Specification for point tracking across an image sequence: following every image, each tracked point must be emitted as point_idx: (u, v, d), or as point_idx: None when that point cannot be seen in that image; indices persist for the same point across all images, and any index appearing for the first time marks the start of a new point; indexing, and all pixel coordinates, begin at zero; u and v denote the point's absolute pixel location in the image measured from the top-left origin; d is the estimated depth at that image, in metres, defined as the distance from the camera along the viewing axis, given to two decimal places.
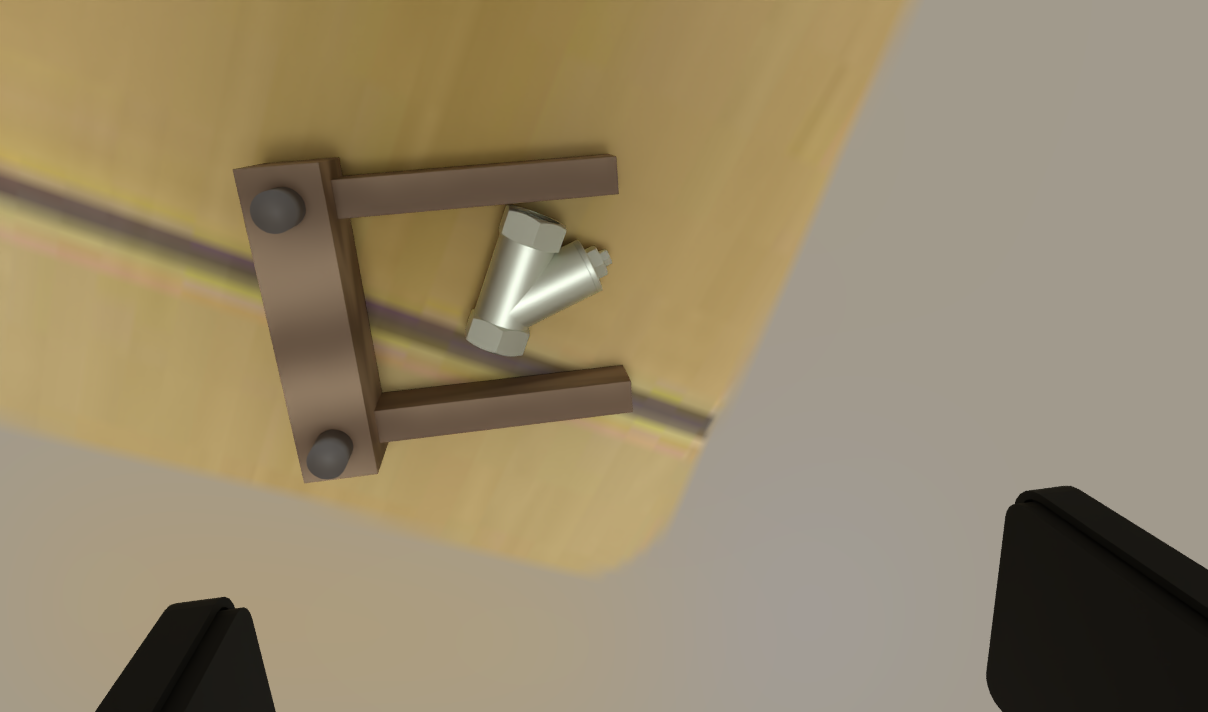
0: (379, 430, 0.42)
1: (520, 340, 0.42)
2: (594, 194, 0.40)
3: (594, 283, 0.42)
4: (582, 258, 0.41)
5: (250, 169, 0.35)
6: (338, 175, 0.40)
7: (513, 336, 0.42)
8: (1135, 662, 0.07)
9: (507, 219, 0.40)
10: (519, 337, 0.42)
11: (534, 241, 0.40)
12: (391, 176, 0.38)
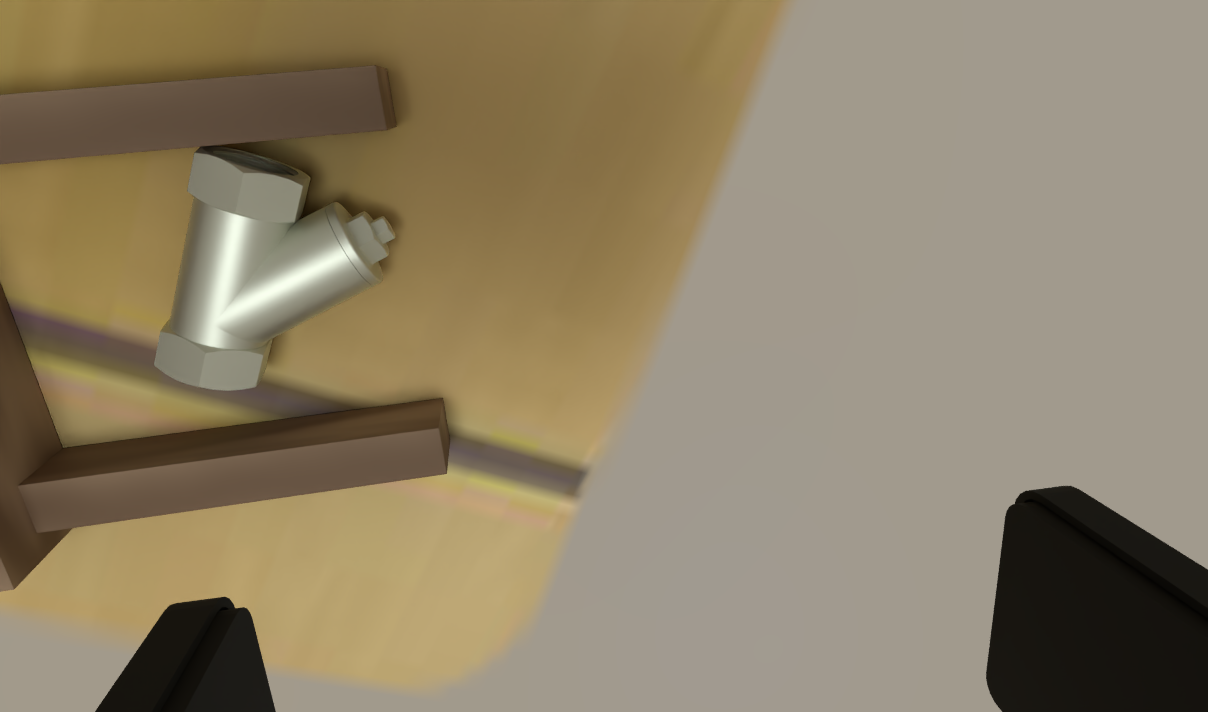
0: (32, 514, 0.27)
1: (246, 364, 0.26)
2: (344, 130, 0.24)
3: (358, 270, 0.26)
4: (333, 230, 0.25)
5: None
6: None
7: (229, 359, 0.26)
8: (1135, 662, 0.07)
9: (194, 167, 0.24)
10: (243, 360, 0.26)
11: (238, 203, 0.24)
12: None
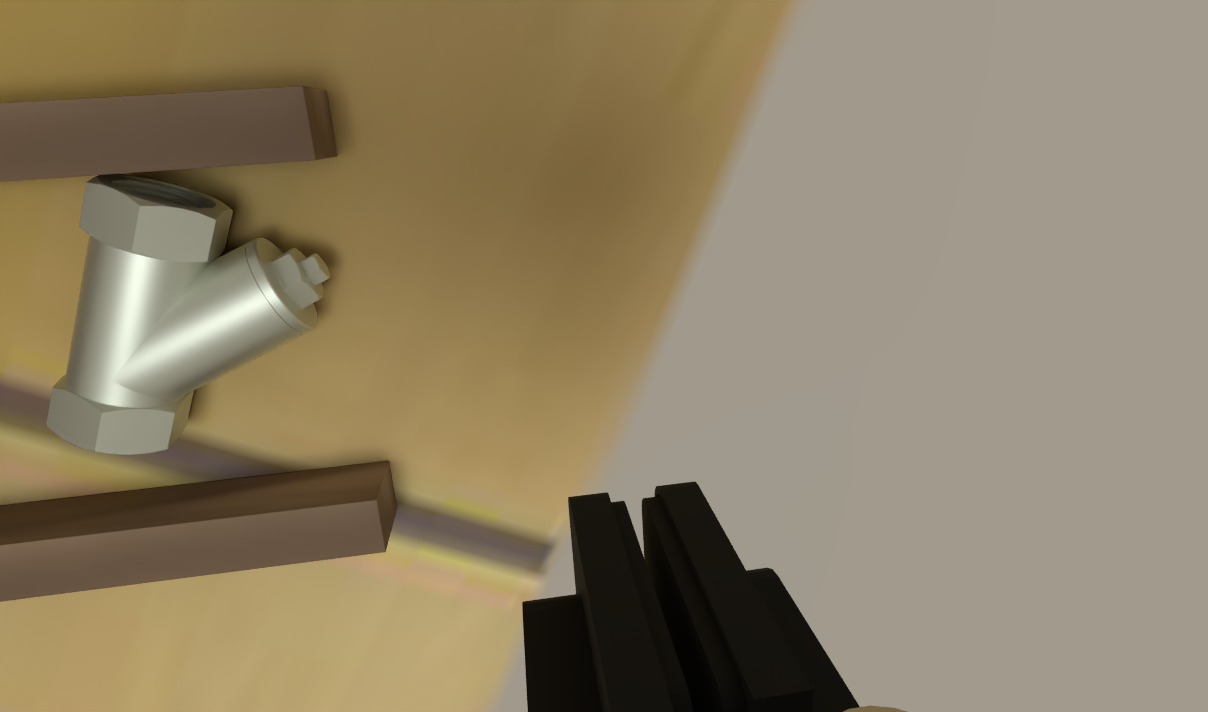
0: None
1: (154, 424, 0.23)
2: (266, 159, 0.21)
3: (282, 317, 0.22)
4: (252, 271, 0.22)
5: None
6: None
7: (132, 419, 0.22)
8: (679, 642, 0.08)
9: (86, 199, 0.21)
10: (150, 419, 0.23)
11: (135, 241, 0.20)
12: None
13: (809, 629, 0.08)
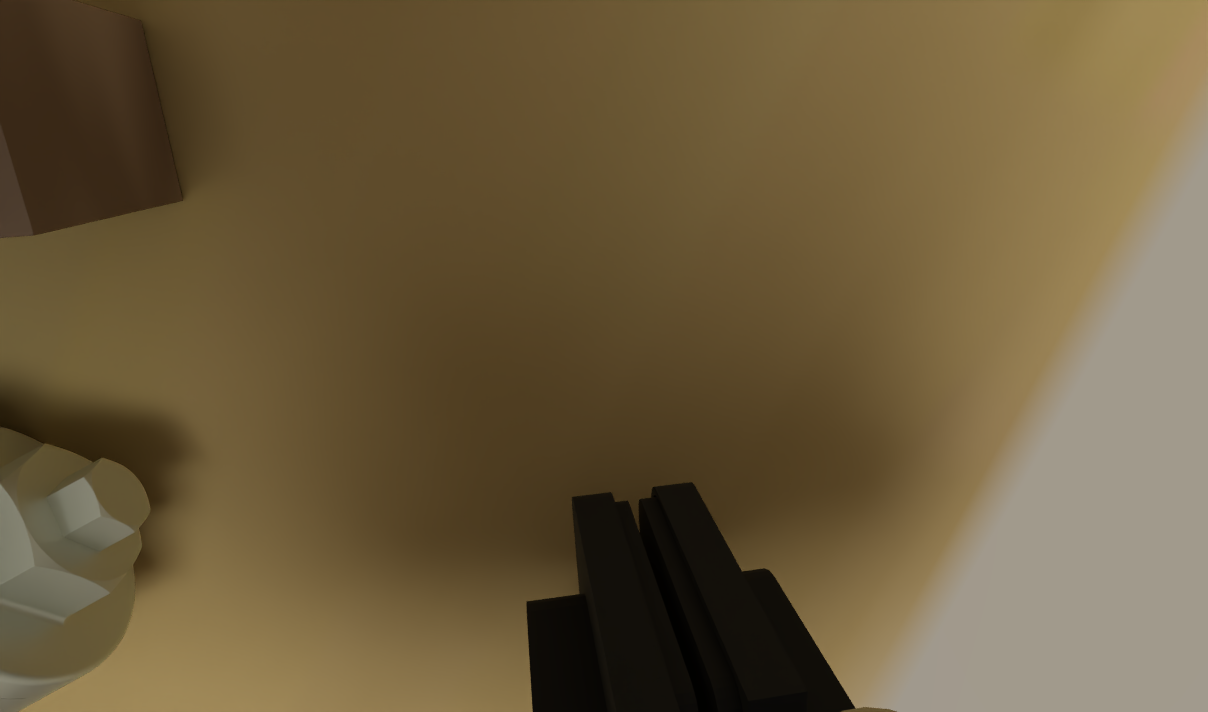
0: None
1: None
2: None
3: None
4: None
5: None
6: None
7: None
8: None
9: None
10: None
11: None
12: None
13: (805, 630, 0.08)
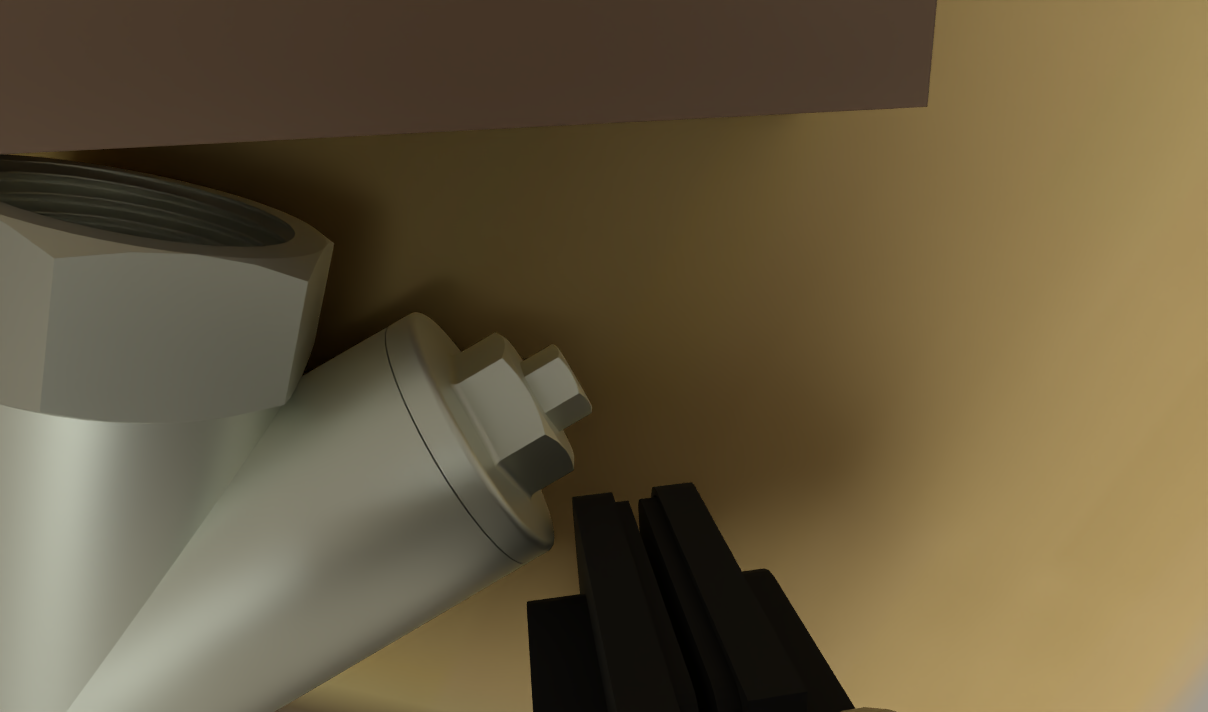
0: None
1: None
2: (794, 102, 0.07)
3: (501, 546, 0.08)
4: (419, 426, 0.07)
5: None
6: None
7: None
8: None
9: None
10: None
11: (51, 379, 0.06)
12: None
13: (805, 630, 0.08)
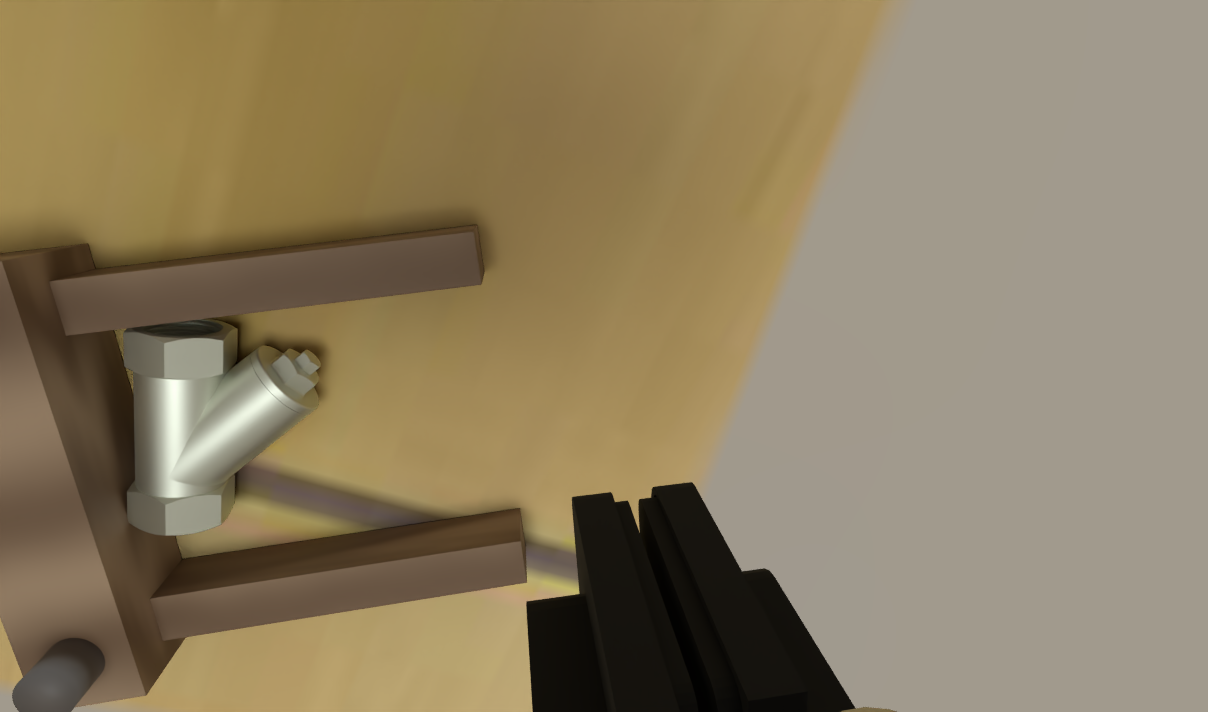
0: (160, 624, 0.30)
1: (207, 507, 0.29)
2: (445, 286, 0.28)
3: (287, 405, 0.28)
4: (257, 374, 0.28)
5: None
6: (80, 270, 0.28)
7: (189, 505, 0.28)
8: None
9: (125, 345, 0.27)
10: (203, 503, 0.29)
11: (166, 370, 0.27)
12: (139, 272, 0.26)
13: (805, 630, 0.08)
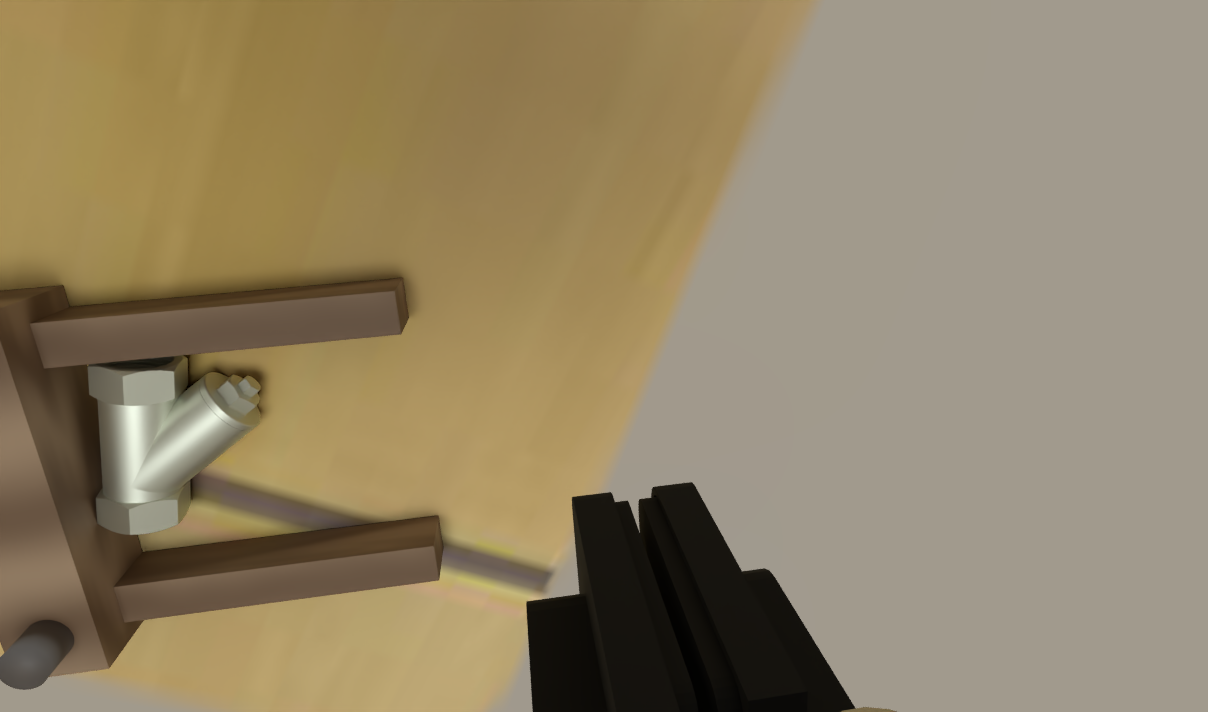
0: (122, 608, 0.35)
1: (165, 509, 0.34)
2: (370, 335, 0.33)
3: (231, 425, 0.33)
4: (204, 399, 0.33)
5: None
6: (56, 309, 0.32)
7: (150, 509, 0.34)
8: None
9: (89, 377, 0.32)
10: (161, 507, 0.34)
11: (125, 398, 0.32)
12: (108, 317, 0.31)
13: (805, 630, 0.08)
